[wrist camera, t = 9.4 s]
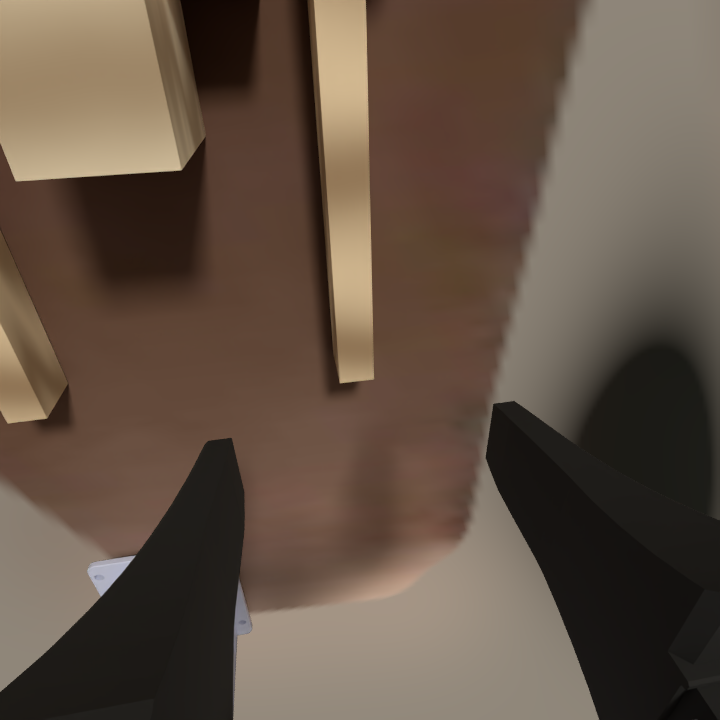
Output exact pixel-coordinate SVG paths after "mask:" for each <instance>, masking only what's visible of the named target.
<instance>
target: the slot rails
mask: <svg viewBox="0 0 720 720" xmlns="http://www.w3.org/2000/svg"><path fill="white" fill-rule="evenodd" d="M307 2H308V16H309V29H310V43H311V57H312V70H313V84H314V97H315V111H316V124H317V138H318V152H319V165H320V179H321V192H322V206H323V219H324V233H325V247H326V260H327V274H328V287H329V301H330V314H331V328H332V342H333V354H334V359H335V363H336V368H337V372H338V377H339V381H340V383H347V382H355V381H363V380H372V379H374V364H373V317H372V270H371V223H370V175H369V128H368V81H367V34H366V0H307ZM67 384H68V382H67V380H66V378H65V375H64V373H63V371H62V368H61V366H60V364H59V362H58V359H57V357H56V355H55V353H54V350H53V348H52V346H51V343H50V341H49V339H48V337H47V334H46V332H45V330H44V328H43V325H42V323H41V321H40V318H39V316H38V314H37V312H36V309H35V307H34V305H33V303H32V300H31V298H30V296H29V293H28V291H27V289H26V287H25V284H24V282H23V280H22V278H21V275H20V273H19V271H18V268H17V266H16V264H15V262H14V259H13V257H12V255H11V253H10V250H9V248H8V246H7V243H6V241H5V239H4V237H3V234H2V232H1V230H0V410H1V412H2V414H3V416H4V418H5V419H6V421H7V423H14V422H23V421H31V420H39V419H47V418H48V416H49V415H50V413H51V411H52V410H53V408H54V406H55V405H56V403H57V401H58V400H59V398H60V396H61V394H62V393H63V391H64V389H65V388H66V386H67Z"/></svg>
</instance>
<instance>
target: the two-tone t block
mask: <svg viewBox="0 0 720 720" xmlns="http://www.w3.org/2000/svg"><path fill="white" fill-rule="evenodd" d="M205 136H206V135H205V129H204V124H203V119H202V113H201V108H200V103H199V97H198V92H197V87H196V81H195V76H194V71H193V65H192V60H191V55H190V49H189V44H188V39H187V33H186V28H185V23H184V17H183V12H182V7H181V1H180V0H0V143H1V146H2V148H3V151H4V153H5V156H6V158H7V161H8V163H9V166H10V168H11V171H12V173H13V175H14V178H15V180H16V181H27V180H43V179H58V178H73V177H88V176H103V175H118V174H134V173H149V172H164V171H179V170H182V169H183V168H184V166H185V165H186V163H187V162H188V161H189V159H190V158H191V156H192V155H193V154H194V152H195V151H196V149H197V148H198V146H199V145H200V144H201V142H202V141H203V139H204V138H205Z"/></svg>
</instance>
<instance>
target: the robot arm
mask: <svg viewBox="0 0 720 720" xmlns="http://www.w3.org/2000/svg"><path fill="white" fill-rule="evenodd" d="M486 460H487V463H488V465H489V468H490V471H491V473H492V476H493V478H494V481H495V483H496V486H497V488H498V491H499V493H500V494H501V496H502V498H503V500H504V502H505V504H506V506H507V507H508V509H509V511H510V513H511V515H512V517H513V518H514V520H515V522H516V524H517V526H518V527H519V529H520V531H521V533H522V535H523V537H524V538H525V540H526V542H527V544H528V545H529V547H530V549H531V551H532V553H533V555H534V556H535V558H536V560H537V562H538V564H539V566H540V568H541V570H542V572H543V574H544V577H545V579H546V581H547V584H548V586H549V588H550V591H551V593H552V595H553V598H554V600H555V602H556V605H557V607H558V609H559V612H560V615H561V617H562V620H563V622H564V625H565V627H566V630H567V632H568V635H569V637H570V639H571V642H572V645H573V647H574V650H575V653H576V655H577V658H578V661H579V663H580V666H581V669H582V672H583V674H584V677H585V680H586V682H587V685H588V688H589V691H590V694H591V697H592V700H593V702H594V705H595V708H596V711H597V714H598V717H599V720H720V520H717V519H715V518H712V517H710V516H707V515H705V514H703V513H700V512H698V511H695V510H693V509H691V508H689V507H687V506H684V505H682V504H680V503H678V502H676V501H673V500H671V499H669V498H667V497H665V496H663V495H661V494H659V493H657V492H655V491H653V490H651V489H649V488H647V487H645V486H643V485H641V484H640V483H638V482H636V481H634V480H632V479H630V478H628V477H627V476H625V475H623V474H621V473H620V472H618V471H616V470H614V469H613V468H611V467H609V466H608V465H606V464H605V463H603V462H601V461H600V460H598V459H597V458H595V457H593V456H592V455H590V454H589V453H587V452H586V451H584V450H583V449H581V448H579V447H578V446H577V445H575V444H574V443H572V442H571V441H569V440H568V439H567V438H565V437H564V436H562V435H561V434H560V433H558V432H557V431H555V430H554V429H553V428H551V427H549V426H548V425H547V424H546V423H544V422H543V421H541V420H540V419H539V418H537V417H536V416H535V415H533V414H532V413H530V412H529V411H528V410H526V409H525V408H523V407H522V406H520V405H519V404H518V403H516V402H515V401H512V402H504V403H496V404H493V411H492V418H491V424H490V431H489V438H488V445H487V452H486ZM244 517H245V511H244V489H243V485H242V480H241V476H240V472H239V467H238V463H237V459H236V455H235V450H234V446H233V442H232V438H227V439H220V440H212V441H208V442H207V443H206V444H205V445H204V447H203V449H202V451H201V453H200V455H199V457H198V459H197V461H196V463H195V465H194V467H193V468H192V470H191V472H190V474H189V476H188V478H187V479H186V481H185V483H184V485H183V486H182V488H181V490H180V491H179V493H178V495H177V496H176V498H175V500H174V501H173V503H172V505H171V506H170V508H169V509H168V511H167V512H166V514H165V515H164V517H163V518H162V520H161V521H160V523H159V524H158V526H157V527H156V529H155V530H154V532H153V533H152V535H151V536H150V537H149V539H148V540H147V541H146V543H145V544H144V545H143V547H142V548H141V549H140V551H139V552H138V553H137V555H135V556H128V557H122V558H115V559H109V560H102V561H96V562H93V563H91V564H90V565H89V567H88V570H87V572H88V575H89V576H90V578H91V580H92V582H93V584H94V585H95V587H96V589H97V590H98V592H99V594H100V596H101V598H100V599H99V600H98V601H97V602H96V603H95V604H94V605H93V606H92V607H91V608H90V609H89V611H87V612H86V613H85V614H84V616H82V618H80V619H79V620H78V621H77V623H75V624H74V625H73V626H72V627H71V628H70V629H69V631H67V632H66V633H65V634H64V635H63V636H62V637H61V638H60V639H59V640H58V641H57V642H56V643H55V644H54V645H53V646H52V647H51V648H50V649H49V650H48V651H47V652H46V653H45V654H44V655H43V656H41V657H40V658H39V659H38V660H37V661H36V662H34V663H33V664H32V665H31V666H30V667H29V668H27V669H26V670H25V671H24V672H23V673H22V674H21V675H19V676H18V677H17V678H16V679H15V680H14V681H13V682H11V683H10V684H9V685H8V686H7V687H6V688H4V689H3V690H2V691H1V692H0V720H233V710H234V691H235V671H236V651H237V635H243V634H247V633H250V632H251V630H252V622H251V618H250V615H249V611H248V608H247V604H246V600H245V597H244V593H243V590H242V586H241V583H240V579H239V574H240V565H241V556H242V547H243V538H244Z"/></svg>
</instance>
